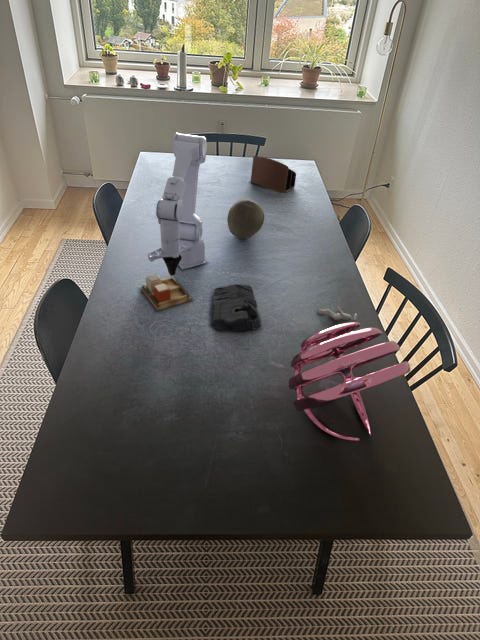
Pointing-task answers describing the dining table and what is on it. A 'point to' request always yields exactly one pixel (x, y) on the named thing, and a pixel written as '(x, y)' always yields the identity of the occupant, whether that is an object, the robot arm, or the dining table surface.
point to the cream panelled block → (153, 281)
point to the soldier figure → (337, 314)
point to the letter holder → (272, 175)
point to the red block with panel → (161, 292)
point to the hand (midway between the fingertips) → (171, 274)
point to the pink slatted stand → (341, 369)
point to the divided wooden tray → (176, 294)
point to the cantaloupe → (245, 218)
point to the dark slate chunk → (235, 308)
